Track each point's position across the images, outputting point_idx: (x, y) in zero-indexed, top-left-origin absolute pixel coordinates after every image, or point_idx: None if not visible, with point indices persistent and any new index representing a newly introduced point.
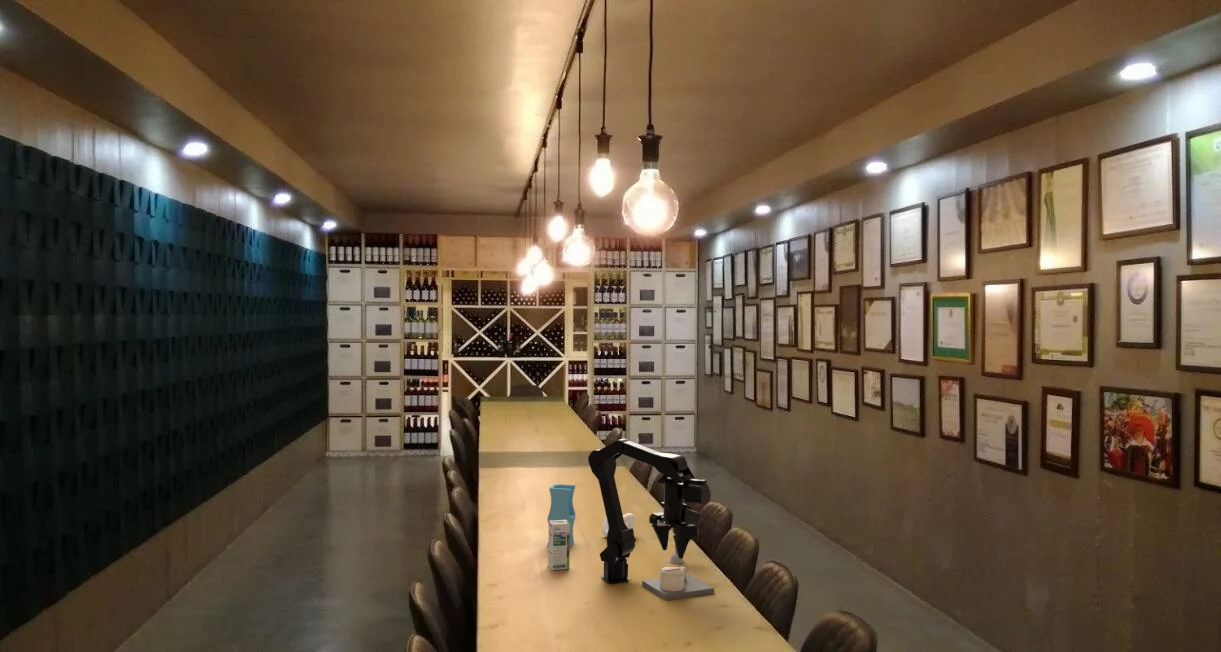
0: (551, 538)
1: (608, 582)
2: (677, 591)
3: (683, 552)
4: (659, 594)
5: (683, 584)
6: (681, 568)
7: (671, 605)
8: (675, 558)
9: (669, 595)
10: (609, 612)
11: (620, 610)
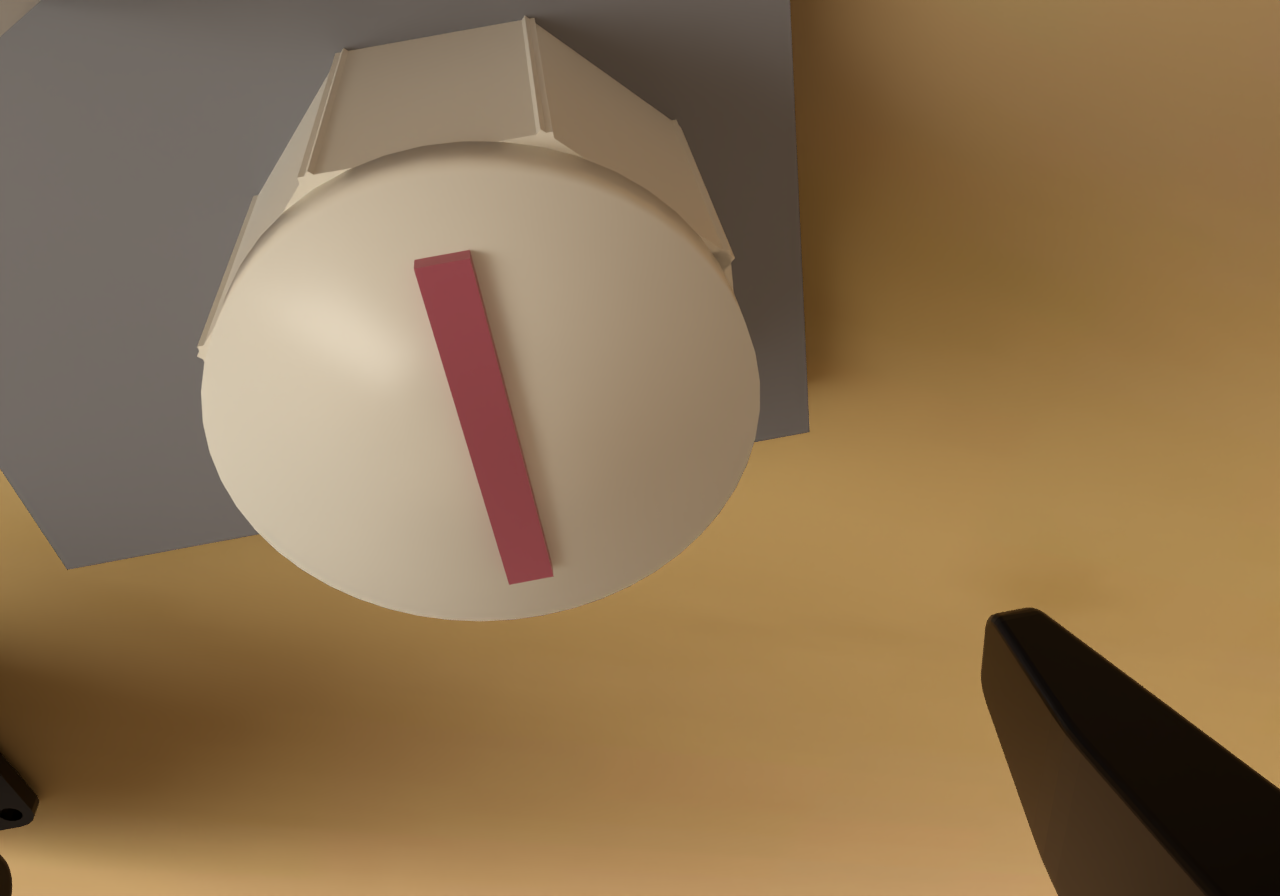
0: None
1: (5, 816)
2: None
3: (1199, 775)
4: None
5: (594, 87)
6: (380, 192)
7: (994, 365)
8: None
9: (805, 368)
10: (901, 858)
11: (894, 797)
